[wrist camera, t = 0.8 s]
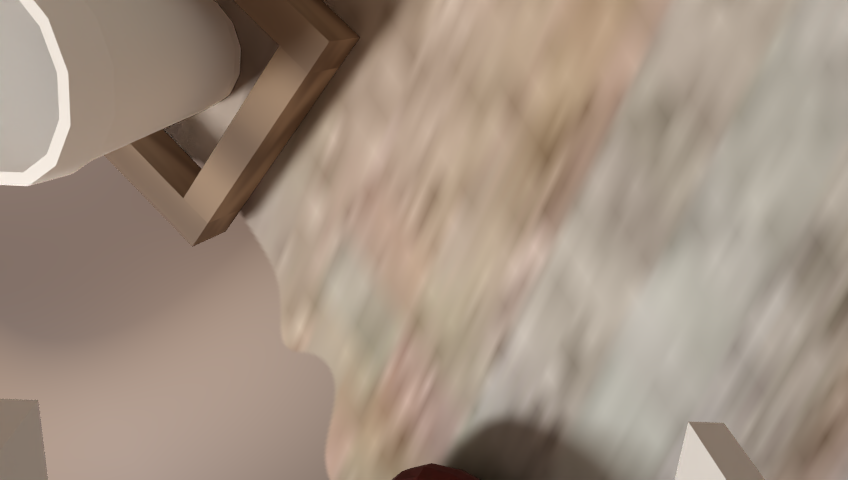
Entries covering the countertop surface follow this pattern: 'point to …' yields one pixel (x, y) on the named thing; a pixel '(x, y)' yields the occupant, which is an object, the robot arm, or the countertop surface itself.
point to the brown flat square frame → (243, 123)
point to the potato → (434, 473)
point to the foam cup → (103, 77)
